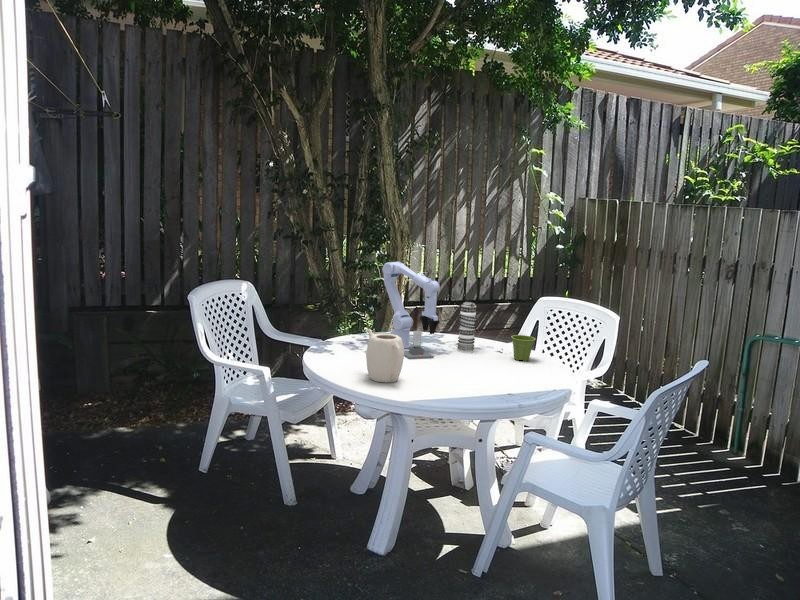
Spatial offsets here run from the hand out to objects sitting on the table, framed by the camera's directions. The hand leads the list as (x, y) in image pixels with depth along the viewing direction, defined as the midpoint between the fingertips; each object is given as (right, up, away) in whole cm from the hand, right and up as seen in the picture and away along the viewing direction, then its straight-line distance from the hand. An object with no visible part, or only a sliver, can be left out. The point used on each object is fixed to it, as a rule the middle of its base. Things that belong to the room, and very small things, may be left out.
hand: (428, 332), depth 349 cm
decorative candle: (+19, -10, +9) cm, 24 cm away
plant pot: (+46, -14, -3) cm, 48 cm away
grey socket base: (-6, -11, -6) cm, 14 cm away
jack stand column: (-6, -6, -7) cm, 11 cm away
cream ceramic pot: (-22, -18, -52) cm, 59 cm away
